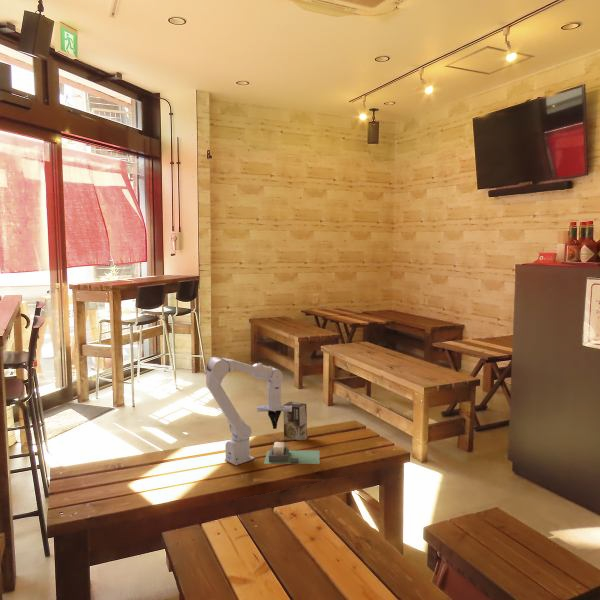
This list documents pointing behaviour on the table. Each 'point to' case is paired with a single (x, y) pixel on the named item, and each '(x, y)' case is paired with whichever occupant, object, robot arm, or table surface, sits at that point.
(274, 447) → the plug
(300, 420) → the coffee box
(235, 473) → the table surface
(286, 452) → the board
